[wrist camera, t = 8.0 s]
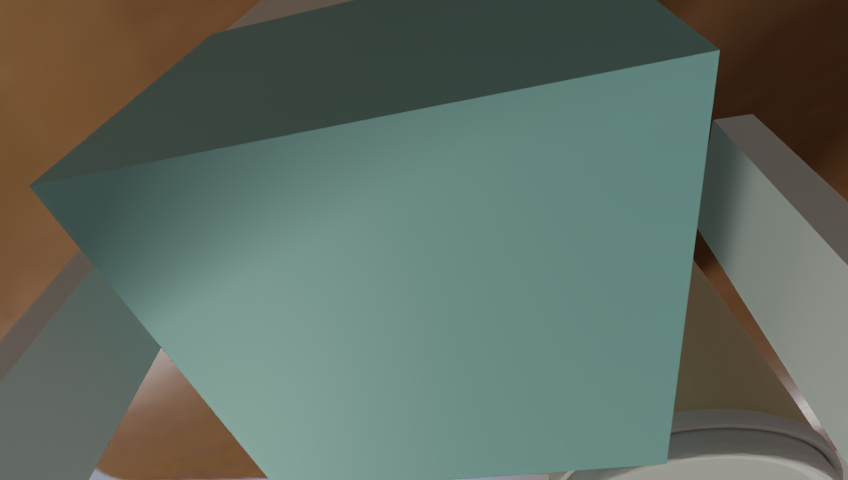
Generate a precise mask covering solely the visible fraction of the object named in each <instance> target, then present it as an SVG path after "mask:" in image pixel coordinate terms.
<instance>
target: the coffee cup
mask: <svg viewBox="0 0 848 480" xmlns="http://www.w3.org/2000/svg"><path fill="white" fill-rule="evenodd" d="M549 480H843V469H842V466H841V463H840V460H839V458H838V456H837V455H836V453H835V451H834V450H833V448H832V447H831V446H830V445H829V443H828V442H827V441H826V440H825V439H824V438H823V436H822V435H820V434H819V433H818V432H817V431H815V430H814V429H813V428H812V427H811V425H810V424H809V422H808V421H807V419H806V418H805V416H804V415H803V413H802V412H801V410H800V409H799V407H798V406H797V404H796V403H795V401H794V400H793V398H792V397H791V395H790V394H789V392H788V391H787V390H786V388H785V387H784V385H783V384H782V383H781V381H780V380H779V378H778V377H777V375H776V374H775V373H774V371H773V370H772V368H771V367H770V366H769V364H768V363H767V361H766V360H765V359H764V357H763V356H762V354H761V353H760V352H759V350H758V349H757V347H756V346H755V344H754V343H753V342H752V340H751V339H750V337H749V336H748V335H747V333H746V332H745V330H744V329H743V328H742V326H741V325H740V323H739V322H738V321H737V319H736V318H735V316H734V315H733V314H732V312H731V311H730V309H729V308H728V307H727V305H726V304H725V303H724V301H723V300H722V298H721V297H720V296H719V294H718V293H717V291H716V290H715V289H714V287H713V286H712V285H711V283H710V282H709V280H708V279H707V278H706V276H705V275H704V273H703V272H702V271H701V269H700V268H699V267H698V265H697V264H696V262H695V261H694V260H693V263H692V271H691V278H690V286H689V294H688V302H687V309H686V317H685V325H684V333H683V340H682V348H681V356H680V364H679V371H678V379H677V387H676V395H675V402H674V410H673V418H672V426H671V433H670V441H669V449H668V457H667V464H659V465H646V466H632V467H618V468H605V469H591V470H578V471H564V472H550V473H549Z"/></svg>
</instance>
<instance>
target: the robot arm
mask: <svg viewBox="0 0 848 480" xmlns="http://www.w3.org/2000/svg"><path fill="white" fill-rule="evenodd" d="M697 229H698V230H699V232H700V233H701V235H702V236H703V238H704V240H705V241H706V243H707V244H708V246H709V247H710V249H711V251H712V252H713V254H714V255H715V257H716V259H717V260H718V262H719V263H720V265H721V266H722V268H723V270H724V271H725V273H726V274H727V276H728V278H729V279H730V281H731V282H732V284H733V285H734V287H735V289H736V290H737V292H738V293H739V295H740V297H741V298H742V300H743V301H744V303H745V304H746V306H747V308H748V309H749V311H750V312H751V314H752V315H753V317H754V319H755V320H756V322H757V323H758V325H759V327H760V328H761V330H762V331H763V333H764V334H765V336H766V338H767V339H768V341H769V342H770V344H771V346H772V347H773V349H774V350H775V352H776V353H777V355H778V357H779V358H780V360H781V361H782V363H783V365H784V366H785V368H786V369H787V371H788V372H789V374H790V376H791V377H792V379H793V380H794V382H795V383H796V385H797V387H798V388H799V390H800V391H801V393H802V395H803V396H804V398H805V399H806V401H807V402H808V404H809V406H810V407H811V409H812V410H813V412H814V414H815V415H816V417H817V418H818V420H819V421H820V423H821V425H822V426H823V428H824V429H825V431H826V432H827V434H828V436H829V437H830V439H831V440H832V442H833V444H834V445H835V447H836V448H837V450H838V451H839V453H840V455H841V456H842V458H843V459H844V461H845V462H846V464H847V466H848V202H847V201H846V200H845V199H844V198H843V197H842V196H841V195H840V194H839V193H837V192H836V191H835V190H834V189H833V188H832V187H831V186H830V185H829V184H828V183H827V182H826V181H825V180H823V179H822V178H821V177H820V176H819V175H818V174H817V173H816V172H815V171H814V170H813V169H812V168H810V167H809V166H808V165H807V164H806V163H805V162H804V161H803V160H802V159H801V158H800V157H799V156H798V155H796V154H795V153H794V152H793V151H792V150H791V149H790V148H789V147H788V146H787V145H786V144H785V143H784V142H782V141H781V140H780V139H779V138H778V137H777V136H776V135H775V134H774V133H773V132H772V131H771V130H769V129H768V128H767V127H766V126H765V125H764V124H763V123H762V122H761V121H760V120H759V119H758V118H757V117H755V116H754V115H753V114H749V115H742V116H736V117H729V118H722V119H716V120H713V124H712V130H711V135H710V141H709V147H708V152H707V158H706V164H705V170H704V178H703V185H702V193H701V201H700V209H699V216H698V224H697ZM160 348H161V347H160V345H159V344H158V343H157V342H156V340H155V339H154V338H153V337H152V336H151V334H150V333H149V332H148V331H147V329H146V328H145V327H144V326H143V325H142V323H141V322H140V321H139V320H138V318H137V317H136V316H135V315H134V314H133V312H132V311H131V310H130V309H129V307H128V306H127V305H126V304H125V303H124V301H123V300H122V299H121V298H120V296H119V295H118V294H117V293H116V292H115V290H114V289H113V288H112V287H111V285H110V284H109V283H108V282H107V281H106V279H105V278H104V277H103V276H102V274H101V273H100V272H99V271H98V270H97V268H96V267H95V266H94V265H93V263H92V262H91V261H90V260H89V259H88V257H87V256H86V255H85V254H84V252H83V251H82V250H81V249H80V250H79V251H78V252H77V253H76V254H75V256H74V257H73V258H72V259H71V260H70V261H69V262H68V264H67V265H66V266H65V267H64V268H63V269H62V271H61V272H60V273H59V274H58V275H57V276H56V277H55V279H54V280H53V281H52V282H51V283H50V284H49V286H48V287H47V288H46V289H45V290H44V291H43V292H42V294H41V295H40V296H39V297H38V298H37V299H36V301H35V302H34V303H33V304H32V305H31V306H30V307H29V309H28V310H27V311H26V312H25V313H24V314H23V316H22V317H21V318H20V319H19V320H18V321H17V322H16V324H15V325H14V326H13V327H12V328H11V329H10V331H9V332H8V333H7V334H6V335H5V336H4V337H3V339H2V340H1V341H0V480H89V478H90V476H91V474H92V473H93V471H94V469H95V467H96V465H97V464H98V462H99V460H100V458H101V456H102V454H103V453H104V451H105V449H106V447H107V445H108V443H109V442H110V440H111V438H112V436H113V434H114V433H115V431H116V429H117V427H118V425H119V423H120V422H121V420H122V418H123V416H124V414H125V412H126V411H127V409H128V407H129V405H130V403H131V401H132V400H133V398H134V396H135V394H136V392H137V390H138V389H139V387H140V385H141V383H142V381H143V379H144V378H145V376H146V374H147V372H148V370H149V368H150V367H151V365H152V363H153V361H154V359H155V357H156V356H157V354H158V352H159V350H160Z"/></svg>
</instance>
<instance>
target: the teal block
mask: <svg viewBox="0 0 848 480" xmlns="http://www.w3.org/2000/svg"><path fill="white" fill-rule="evenodd" d="M719 54H720V50H719V49H718V48H717V47H716V46H714V45H713V44H712V43H710V42H709V41H708V40H707V39H705V38H704V37H703V36H701V35H700V34H699V33H698V32H696V31H695V30H694V29H692V28H691V27H690V26H689V25H687V24H686V23H685V22H684V21H682V20H681V19H680V18H678V17H677V16H676V15H675V14H673V13H672V12H671V11H669V10H668V9H667V8H666V7H664V6H663V5H662V4H661V3H659V2H658V1H657V0H353V1H349V2H344V3H340V4H336V5H332V6H328V7H323V8H319V9H315V10H311V11H307V12H302V13H298V14H294V15H290V16H286V17H281V18H277V19H273V20H269V21H265V22H260V23H256V24H252V25H248V26H244V27H239V28H235V29H231V30H227V31H223V32H218V33H214V34H211V35H210V36H209V37H208V38H206V39H205V40H204V41H203V42H202V43H200V44H199V45H198V46H197V47H196V48H194V49H193V50H192V51H191V52H190V53H188V54H187V55H186V56H185V57H184V58H182V59H181V60H180V61H179V62H178V63H176V64H175V65H174V66H173V67H172V68H170V69H169V70H168V71H167V72H166V73H164V74H163V75H162V76H161V77H160V78H158V79H157V80H156V81H155V82H154V83H152V84H151V85H150V86H149V87H148V88H146V89H145V90H144V91H143V92H142V93H140V94H139V95H138V96H137V97H136V98H134V99H133V100H132V101H131V102H130V103H128V104H127V105H126V106H125V107H124V108H122V109H121V110H120V111H119V112H117V113H116V114H115V115H114V116H113V117H111V118H110V119H109V120H108V121H107V122H105V123H104V124H103V125H102V126H101V127H99V128H98V129H97V130H96V131H95V132H93V133H92V134H91V135H90V136H89V137H87V138H86V139H85V140H84V141H83V142H81V143H80V144H79V145H78V146H77V147H75V148H74V149H73V150H72V151H71V152H69V153H68V154H67V155H66V156H65V157H63V158H62V159H61V160H60V161H59V162H57V163H56V164H55V165H54V166H53V167H51V168H50V169H49V170H48V171H47V172H45V173H44V174H43V175H42V176H41V177H39V178H38V179H37V180H36V181H35V182H33V183H32V184H31V185H30V188H31V189H32V190H33V191H34V193H35V194H36V195H37V196H38V197H39V199H40V200H41V201H42V202H43V204H44V205H45V206H46V207H47V208H48V210H49V211H50V212H51V213H52V215H53V216H54V217H55V218H56V219H57V221H58V222H59V223H60V224H61V226H62V227H63V228H64V229H65V230H66V232H67V233H68V234H69V235H70V237H71V238H72V239H73V240H74V241H75V243H76V244H77V245H78V246H79V248H80V249H81V250H82V251H83V252H84V254H85V255H86V256H87V257H88V259H89V260H90V261H91V262H92V263H93V265H94V266H95V267H96V268H97V270H98V271H99V272H100V273H101V274H102V276H103V277H104V278H105V279H106V281H107V282H108V283H109V284H110V285H111V287H112V288H113V289H114V290H115V292H116V293H117V294H118V295H119V296H120V298H121V299H122V300H123V301H124V303H125V304H126V305H127V306H128V307H129V309H130V310H131V311H132V312H133V314H134V315H135V316H136V317H137V318H138V320H139V321H140V322H141V323H142V325H143V326H144V327H145V328H146V329H147V331H148V332H149V333H150V334H151V336H152V337H153V338H154V339H155V340H156V342H157V343H158V344H159V345H160V347H161V348H162V349H163V350H164V351H165V353H166V354H167V355H168V356H169V358H170V359H171V360H172V361H173V362H174V364H175V365H176V366H177V367H178V369H179V370H180V371H181V372H182V373H183V375H184V376H185V377H186V378H187V380H188V381H189V382H190V383H191V384H192V386H193V387H194V388H195V389H196V391H197V392H198V393H199V394H200V396H201V397H202V398H203V399H204V400H205V402H206V403H207V404H208V405H209V407H210V408H211V409H212V410H213V411H214V413H215V414H216V415H217V416H218V418H219V419H220V420H221V421H222V422H223V424H224V425H225V426H226V427H227V429H228V430H229V431H230V432H231V433H232V435H233V436H234V437H235V438H236V440H237V441H238V442H239V443H240V444H241V446H242V447H243V448H244V449H245V451H246V452H247V453H248V454H249V455H250V457H251V458H252V459H253V460H254V462H255V463H256V464H257V465H258V466H259V468H260V469H261V470H262V471H263V473H264V474H265V475H266V476H267V477H268V479H269V480H455V479H468V478H481V477H496V476H510V475H523V474H537V473H550V472H564V471H578V470H591V469H605V468H618V467H632V466H646V465H659V464H667V457H668V449H669V441H670V433H671V426H672V418H673V410H674V402H675V395H676V387H677V379H678V371H679V364H680V356H681V348H682V340H683V333H684V325H685V317H686V309H687V302H688V294H689V286H690V278H691V271H692V263H693V255H694V247H695V240H696V232H697V224H698V216H699V209H700V201H701V193H702V185H703V178H704V170H705V162H706V154H707V147H708V139H709V131H710V123H711V116H712V108H713V100H714V92H715V85H716V77H717V69H718V61H719Z"/></svg>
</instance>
